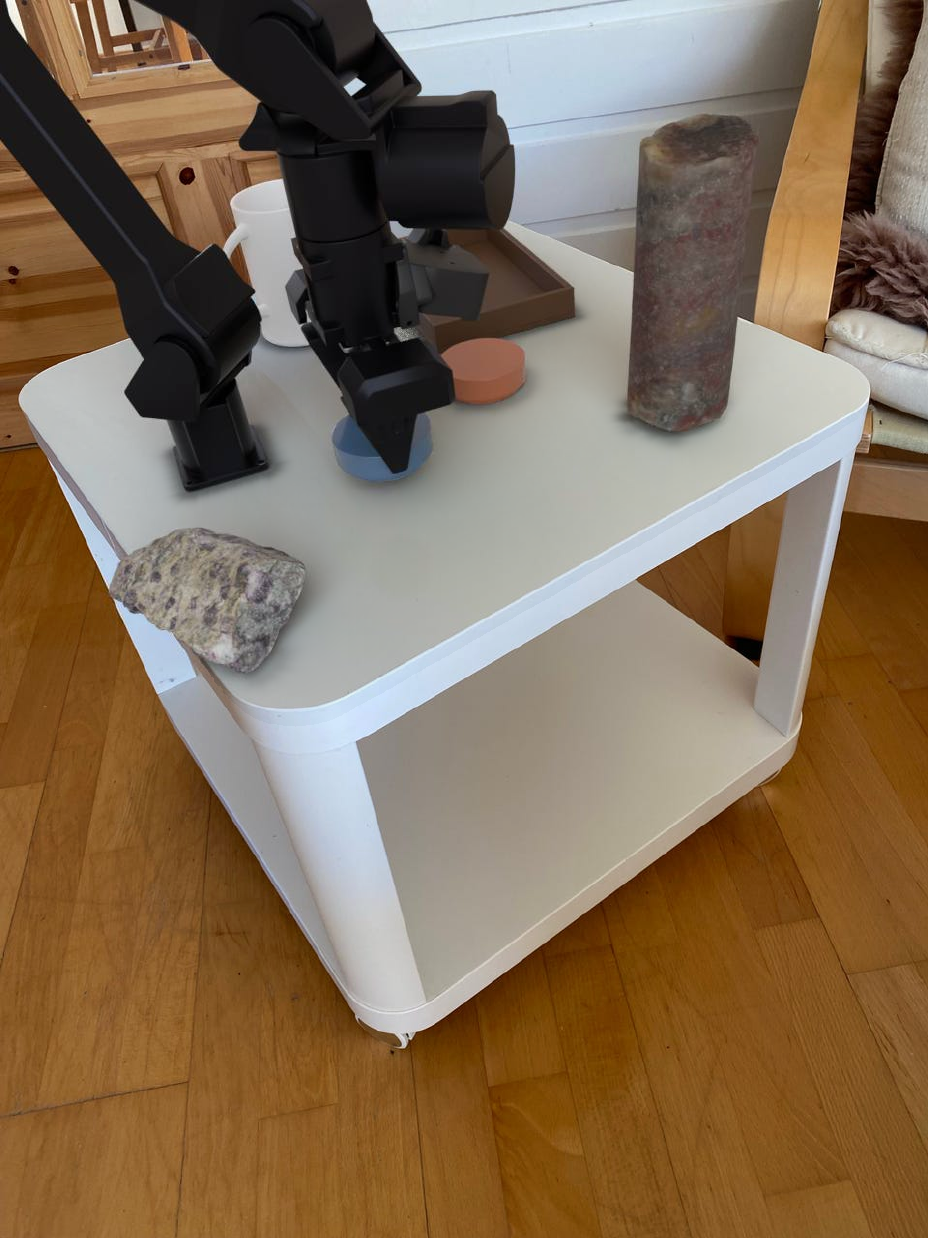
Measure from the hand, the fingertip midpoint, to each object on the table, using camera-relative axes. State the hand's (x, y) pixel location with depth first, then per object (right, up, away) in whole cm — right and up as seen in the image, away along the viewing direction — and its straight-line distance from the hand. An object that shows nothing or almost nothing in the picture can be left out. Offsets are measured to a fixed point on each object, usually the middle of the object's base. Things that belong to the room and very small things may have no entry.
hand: (384, 445), depth 67 cm
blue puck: (0, -1, +1) cm, 1 cm away
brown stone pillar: (+22, +3, +4) cm, 22 cm away
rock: (-12, -15, -12) cm, 22 cm away
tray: (+6, +19, +23) cm, 31 cm away
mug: (-10, +14, +21) cm, 28 cm away
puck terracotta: (+7, +7, +11) cm, 15 cm away
